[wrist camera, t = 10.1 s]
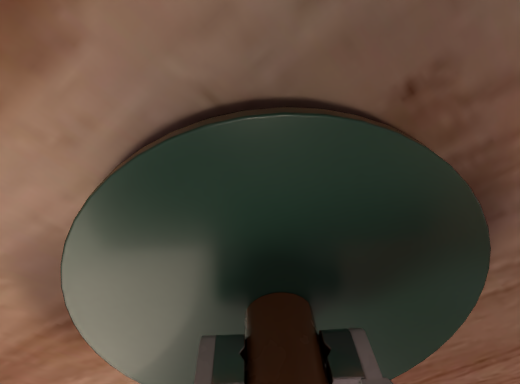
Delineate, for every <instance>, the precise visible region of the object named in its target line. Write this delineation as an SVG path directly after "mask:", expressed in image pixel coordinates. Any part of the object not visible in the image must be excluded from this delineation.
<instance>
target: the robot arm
mask: <svg viewBox="0 0 520 384" xmlns="http://www.w3.org/2000/svg"><path fill="white" fill-rule="evenodd" d="M318 337H319V341H320V346H321V350H322V355H323V359H324V363H325V368H326V372H327V377H328V381H329V384H393V383H392V382H391V381H390V380H389V379H388V378H383V377H382V374H381V372H380V369H379V366H378V364H377V361H376V359H375V356H374V353H373V351H372V348H371V346H370V343H369V340H368V338H367V335H366V332H365V331H364V330H363V329H362V328H349V329H347V328H344V329H329V330H320V331H319V333H318ZM194 384H245V334H230V335H204V336H201V339H200V344H199V351H198V359H197V366H196V373H195V380H194Z"/></svg>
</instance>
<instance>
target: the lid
mask: <svg viewBox="0 0 520 384" xmlns="http://www.w3.org/2000/svg"><path fill="white" fill-rule="evenodd" d="M490 251H491V247H490V238H489V230H488V225H487V222H486V220H485V217H484V214H483V211H482V208H481V205H480V203H479V202H478V200H477V198H476V197H475V195H474V193H473V192H472V190H471V188H470V187H469V185H468V184H467V183H466V181H465V180H464V179H463V178H462V177H461V176H460V175H459V174H458V173H457V172H456V171H455V169H454V168H453V167H452V166H451V165H450V164H449V163H447V162H446V161H445V160H443V159H442V158H441V157H439V156H438V155H437V154H435V153H434V152H433V151H431V150H430V149H429V148H427V147H426V146H425V145H423V144H422V143H421V142H419V141H418V140H416V139H414V138H412V137H410V136H408V135H406V134H404V133H402V132H400V131H398V130H396V129H394V128H393V127H391V126H388V125H385V124H382V123H379V122H376V121H373V120H370V119H367V118H364V117H361V116H358V115H353V114H348V113H342V112H336V111H331V110H325V109H315V108H292V107H279V108H267V109H256V110H245V111H240V112H236V113H231V114H227V115H222V116H218V117H213V118H209V119H205V120H203V121H200V122H197V123H195V124H192V125H189V126H187V127H184V128H181V129H178V130H176V131H173V132H171V133H169V134H167V135H165V136H164V137H162V138H160V139H158V140H156V141H154V142H152V143H151V144H149V145H147V146H145V147H143V148H141V149H140V150H139V151H137V152H136V153H135V154H133V155H132V156H131V157H129V158H128V159H127V160H125V161H124V162H123V163H121V164H120V165H119V166H118V167H116V168H115V169H114V170H113V171H112V172H111V173H110V174H109V176H108V177H107V178H106V179H105V180H104V181H103V182H102V183H101V184H100V185H99V186H98V187H97V188H96V189H95V190H94V192H93V193H92V194H91V195H90V196H89V198H88V199H87V201H86V202H85V204H84V205H83V207H82V208H81V210H80V211H79V213H78V214H77V216H76V217H75V219H74V221H73V223H72V226H71V228H70V231H69V233H68V236H67V238H66V240H65V244H64V249H63V255H62V260H61V288H62V292H63V296H64V301H65V305H66V307H67V310H68V312H69V314H70V317H71V319H72V321H73V323H74V325H75V326H76V328H77V329H78V331H79V332H80V334H81V336H82V337H83V339H84V340H85V341H86V342H87V343H88V344H89V345H90V347H91V348H92V349H93V350H94V351H95V352H96V353H97V354H98V355H99V356H100V357H101V358H103V359H104V360H105V361H106V362H107V363H108V364H110V365H111V366H112V367H114V368H115V369H117V370H118V371H120V372H121V373H123V374H124V375H126V376H127V377H129V378H131V379H133V380H135V381H136V382H138V383H140V384H194V380H195V373H196V366H197V359H198V351H199V344H200V339H201V336H204V335H230V334H245V384H329V381H328V377H327V372H326V368H325V363H324V359H323V355H322V350H321V346H320V341H319V337H318V333H319V331H320V330H329V329H344V328H347V329H349V328H362V329H363V330H364V331H365V332H366V335H367V338H368V340H369V343H370V346H371V348H372V351H373V353H374V356H375V359H376V361H377V364H378V366H379V369H380V372H381V374H382V377H383V378H388V379H389V380H391V379H393V378H395V377H397V376H399V375H401V374H403V373H404V372H406V371H408V370H409V369H411V368H413V367H414V366H416V365H417V364H419V363H420V362H422V361H423V360H425V359H426V358H427V357H429V356H430V355H431V354H433V353H434V352H435V351H436V350H438V349H439V348H440V347H441V346H442V345H443V344H444V343H445V342H446V341H447V340H448V339H450V338H451V337H452V336H453V335H454V333H455V332H456V331H457V330H458V329H459V327H460V326H461V325H462V324H463V323H464V322H465V320H466V319H467V317H468V316H469V314H470V313H471V311H472V310H473V308H474V307H475V305H476V303H477V301H478V299H479V296H480V294H481V292H482V290H483V288H484V285H485V281H486V277H487V274H488V270H489V262H490Z"/></svg>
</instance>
